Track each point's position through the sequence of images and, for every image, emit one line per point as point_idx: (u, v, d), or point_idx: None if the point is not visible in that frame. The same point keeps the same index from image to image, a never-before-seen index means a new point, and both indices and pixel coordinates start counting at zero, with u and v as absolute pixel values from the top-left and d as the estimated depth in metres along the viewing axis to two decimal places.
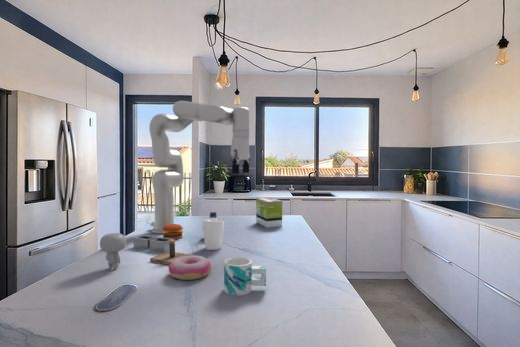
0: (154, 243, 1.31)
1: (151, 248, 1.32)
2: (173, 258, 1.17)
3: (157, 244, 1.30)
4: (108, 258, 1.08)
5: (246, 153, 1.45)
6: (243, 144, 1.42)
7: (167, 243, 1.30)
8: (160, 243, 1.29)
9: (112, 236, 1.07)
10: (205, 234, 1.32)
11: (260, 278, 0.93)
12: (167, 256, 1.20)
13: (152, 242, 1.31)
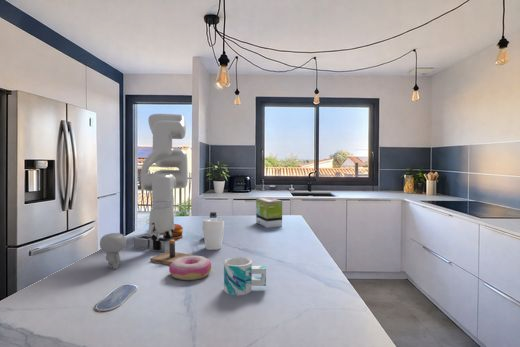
0: None
1: (151, 248, 1.32)
2: (173, 258, 1.17)
3: None
4: (108, 258, 1.08)
5: (168, 224, 1.32)
6: (163, 216, 1.30)
7: (167, 243, 1.30)
8: (160, 243, 1.29)
9: (112, 236, 1.07)
10: (205, 234, 1.32)
11: (260, 278, 0.93)
12: (167, 256, 1.20)
13: (152, 242, 1.31)
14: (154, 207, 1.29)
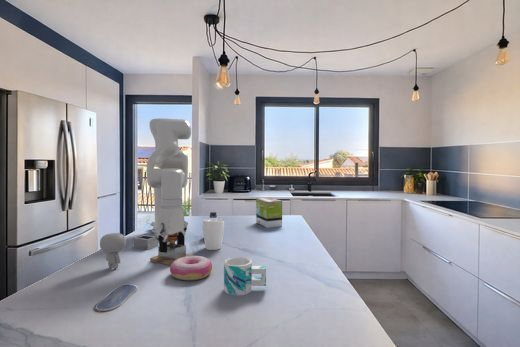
0: None
1: (160, 255, 1.18)
2: None
3: (167, 251, 1.16)
4: (108, 258, 1.08)
5: (178, 225, 1.19)
6: (173, 215, 1.16)
7: (178, 250, 1.16)
8: (170, 250, 1.16)
9: (112, 236, 1.07)
10: (205, 234, 1.32)
11: (260, 278, 0.93)
12: None
13: None
14: (163, 206, 1.15)
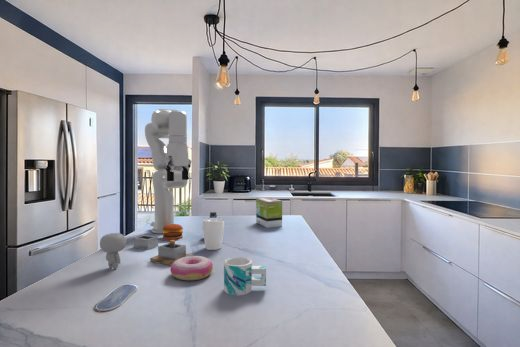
0: (163, 250, 1.17)
1: (160, 255, 1.18)
2: None
3: (167, 251, 1.16)
4: (108, 258, 1.08)
5: (183, 159, 1.38)
6: (179, 150, 1.35)
7: (178, 250, 1.16)
8: (170, 250, 1.16)
9: (112, 236, 1.07)
10: (205, 234, 1.32)
11: (260, 278, 0.93)
12: None
13: (161, 249, 1.17)
14: (171, 141, 1.34)
